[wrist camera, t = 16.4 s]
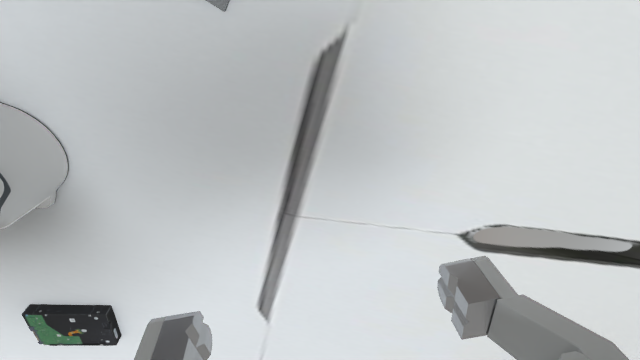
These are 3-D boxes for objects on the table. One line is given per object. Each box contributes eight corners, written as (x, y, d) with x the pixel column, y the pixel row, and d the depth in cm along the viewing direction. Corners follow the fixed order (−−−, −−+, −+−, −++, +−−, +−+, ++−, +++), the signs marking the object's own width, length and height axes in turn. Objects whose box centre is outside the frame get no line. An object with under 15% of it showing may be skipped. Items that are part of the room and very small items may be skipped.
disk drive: (112, 301, 62) (29, 302, 60) (105, 314, 60) (19, 314, 58) (123, 333, 67) (47, 334, 66) (117, 345, 65) (38, 347, 63)
